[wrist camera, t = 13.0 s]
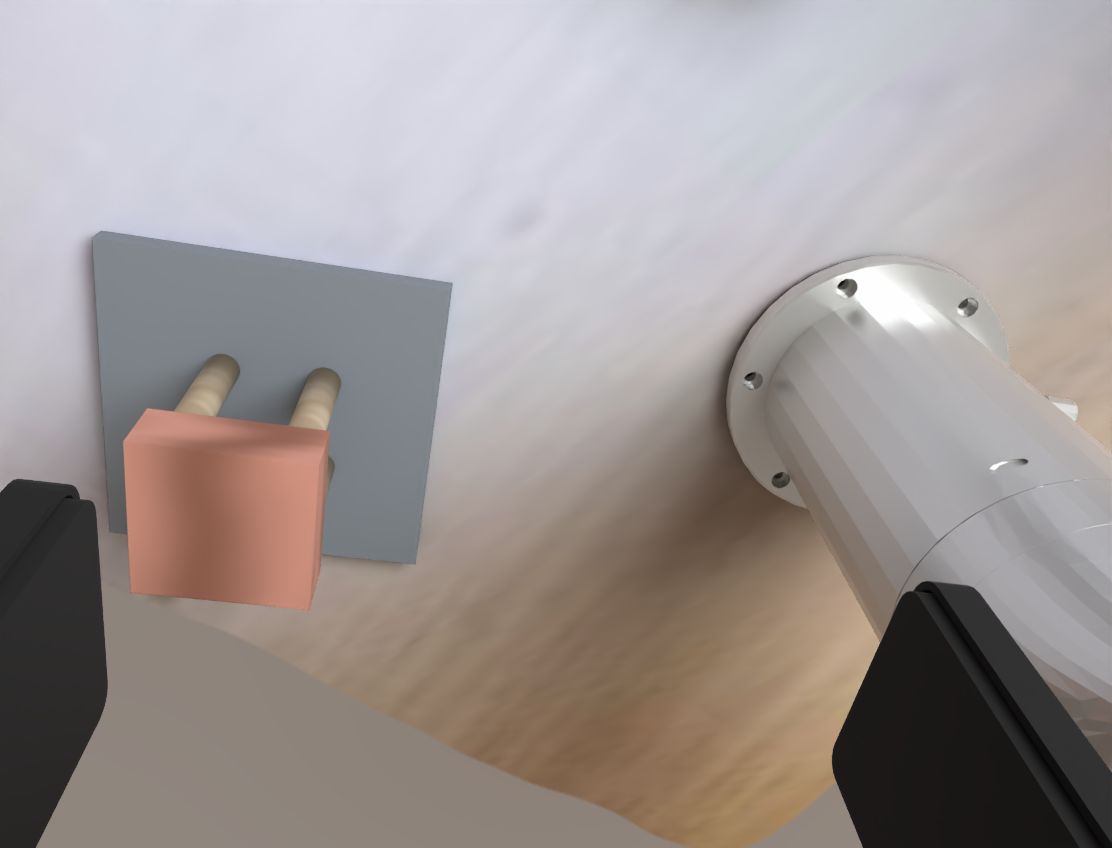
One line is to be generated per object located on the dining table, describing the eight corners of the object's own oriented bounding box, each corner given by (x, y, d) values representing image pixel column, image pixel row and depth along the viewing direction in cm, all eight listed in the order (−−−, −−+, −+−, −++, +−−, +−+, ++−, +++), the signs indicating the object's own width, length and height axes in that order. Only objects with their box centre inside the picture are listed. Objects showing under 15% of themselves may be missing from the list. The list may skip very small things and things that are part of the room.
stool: (352, 362, 38) (319, 464, 31) (342, 489, 41) (309, 610, 34) (195, 341, 38) (122, 441, 30) (196, 472, 40) (130, 592, 33)
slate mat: (452, 283, 38) (451, 291, 37) (416, 552, 44) (415, 564, 44) (101, 230, 36) (92, 238, 35) (117, 519, 43) (109, 532, 42)
